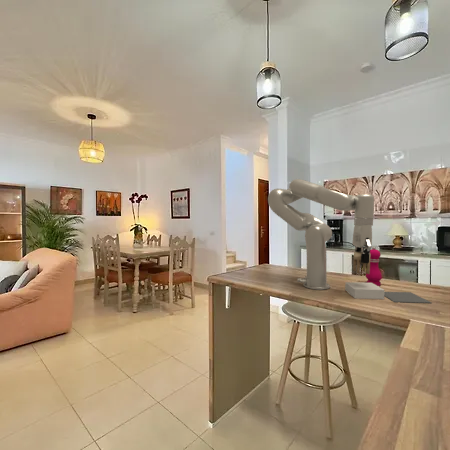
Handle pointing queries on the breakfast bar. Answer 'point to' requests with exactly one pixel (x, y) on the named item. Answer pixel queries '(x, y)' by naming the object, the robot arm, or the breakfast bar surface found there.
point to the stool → (358, 257)
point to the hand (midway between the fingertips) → (361, 260)
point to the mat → (405, 297)
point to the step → (364, 290)
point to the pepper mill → (374, 268)
